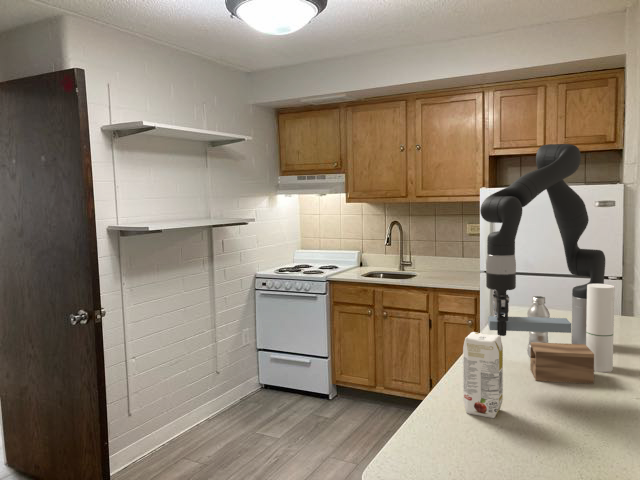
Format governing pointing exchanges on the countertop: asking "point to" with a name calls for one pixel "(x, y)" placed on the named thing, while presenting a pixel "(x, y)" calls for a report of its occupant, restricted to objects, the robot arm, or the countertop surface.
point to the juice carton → (482, 374)
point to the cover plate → (533, 324)
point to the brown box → (562, 362)
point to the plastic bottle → (538, 311)
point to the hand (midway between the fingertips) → (500, 331)
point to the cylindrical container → (600, 325)
